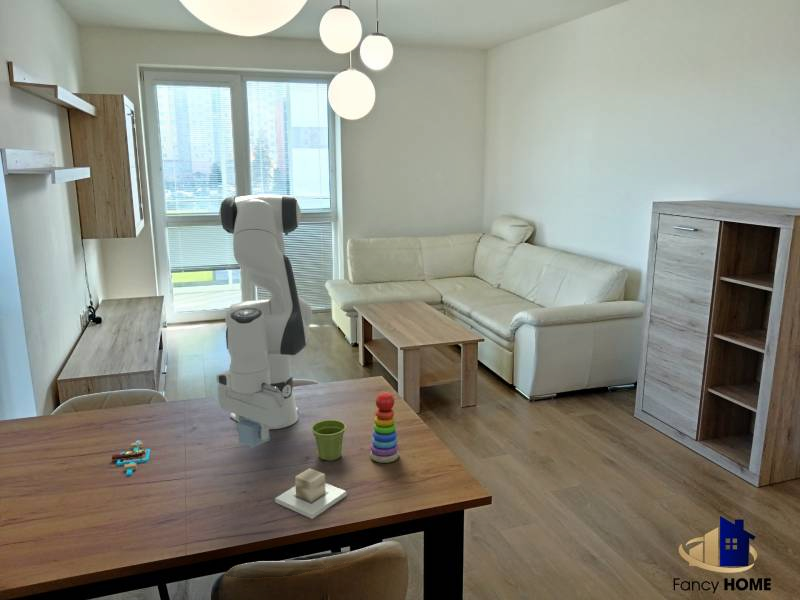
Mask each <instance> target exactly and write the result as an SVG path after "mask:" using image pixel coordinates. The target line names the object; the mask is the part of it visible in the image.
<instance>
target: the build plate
mask: <svg viewBox="0 0 800 600" xmlns="http://www.w3.org/2000/svg"><path fill="white" fill-rule="evenodd" d="M325 491H326V493H324V494H323V495H321V496H320V497H318V498H317V499H315V500H314V501H312V502H310V501H308V500H305V499H303V498H301V497H298V496H296V485H295V486H292V487H290V489H287V490H286V491H284V492H283V493H281V494H279V495H277V496H276V497H275V498H274V501H275V503H276V504H278V505H281V506H282V507H285V508H287V509H289V510H291V511H294V512H296V513H298V514H300V515H303V516H305V517H307V518H309V519H311V520H313V519H315V518H317V516H319V515H321V513H324V512H325V511H326V510H328V509H329V508H330V507H332V506H333V505H334V504H336V503H338V502H339V501H340V500H343V498H345V497H346V496H347V490H345V489H342V488H339V487H336V486H334V485H332V484H330V483H326V482H325Z"/></svg>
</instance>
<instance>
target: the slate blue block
mask: <svg viewBox="0 0 800 600" xmlns="http://www.w3.org/2000/svg"><path fill="white" fill-rule="evenodd" d="M261 429H262V427H261V426H260V423H259V422H256V421H254V420H251V419H248V418H247V419H245V420H242V421H240V422H238V421H237V432H238V433H237V435H238V443H239V444H242V445H245V446H247V447H250V448H252V449H254V448H257V447H259V446H260V445H263V444H264V443H266V442H269V441H271V440H270V439H271V438H270V429H269V430H268V438H267V439H264V440H263V439H260V438H258V436H259V435H258V432H259V431H261Z"/></svg>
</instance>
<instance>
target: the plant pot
mask: <svg viewBox="0 0 800 600" xmlns="http://www.w3.org/2000/svg"><path fill="white" fill-rule="evenodd" d="M346 429H347V425H346V423H344V422H343V421H341V420H338V419H337V420H336V419H326V420H322V421H321V420H320V421H318V422H315V423H314V424H313V425H312V426H311V431H312V433H313V436H314V437H315V443H316V447H317V454H318V457H319V459H320V460H322V461H323V460H325V461H335V460H337V459H339V458H340V457H341V456H342V451H343V449H342V448H343V439H344V434H345V431H346Z"/></svg>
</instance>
